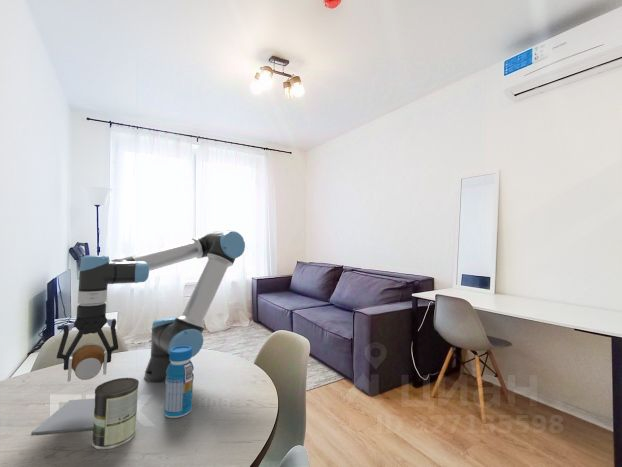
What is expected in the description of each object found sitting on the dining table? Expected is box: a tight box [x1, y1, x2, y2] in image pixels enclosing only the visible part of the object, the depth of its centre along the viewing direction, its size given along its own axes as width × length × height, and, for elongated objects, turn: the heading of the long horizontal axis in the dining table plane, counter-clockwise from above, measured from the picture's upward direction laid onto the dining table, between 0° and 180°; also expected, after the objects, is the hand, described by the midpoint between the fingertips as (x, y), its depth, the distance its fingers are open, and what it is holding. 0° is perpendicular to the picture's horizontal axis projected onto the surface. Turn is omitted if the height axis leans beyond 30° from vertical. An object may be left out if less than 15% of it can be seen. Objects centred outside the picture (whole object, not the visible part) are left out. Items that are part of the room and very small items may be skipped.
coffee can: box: [91, 377, 140, 450], centre depth 83 cm, size 10×10×14 cm
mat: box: [31, 397, 95, 436], centre depth 94 cm, size 18×18×1 cm
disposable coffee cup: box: [70, 342, 106, 381], centre depth 94 cm, size 10×10×12 cm
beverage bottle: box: [163, 346, 195, 419], centre depth 97 cm, size 8×8×20 cm
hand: (87, 376), depth 94 cm, fingers closed on disposable coffee cup, 8 cm apart
